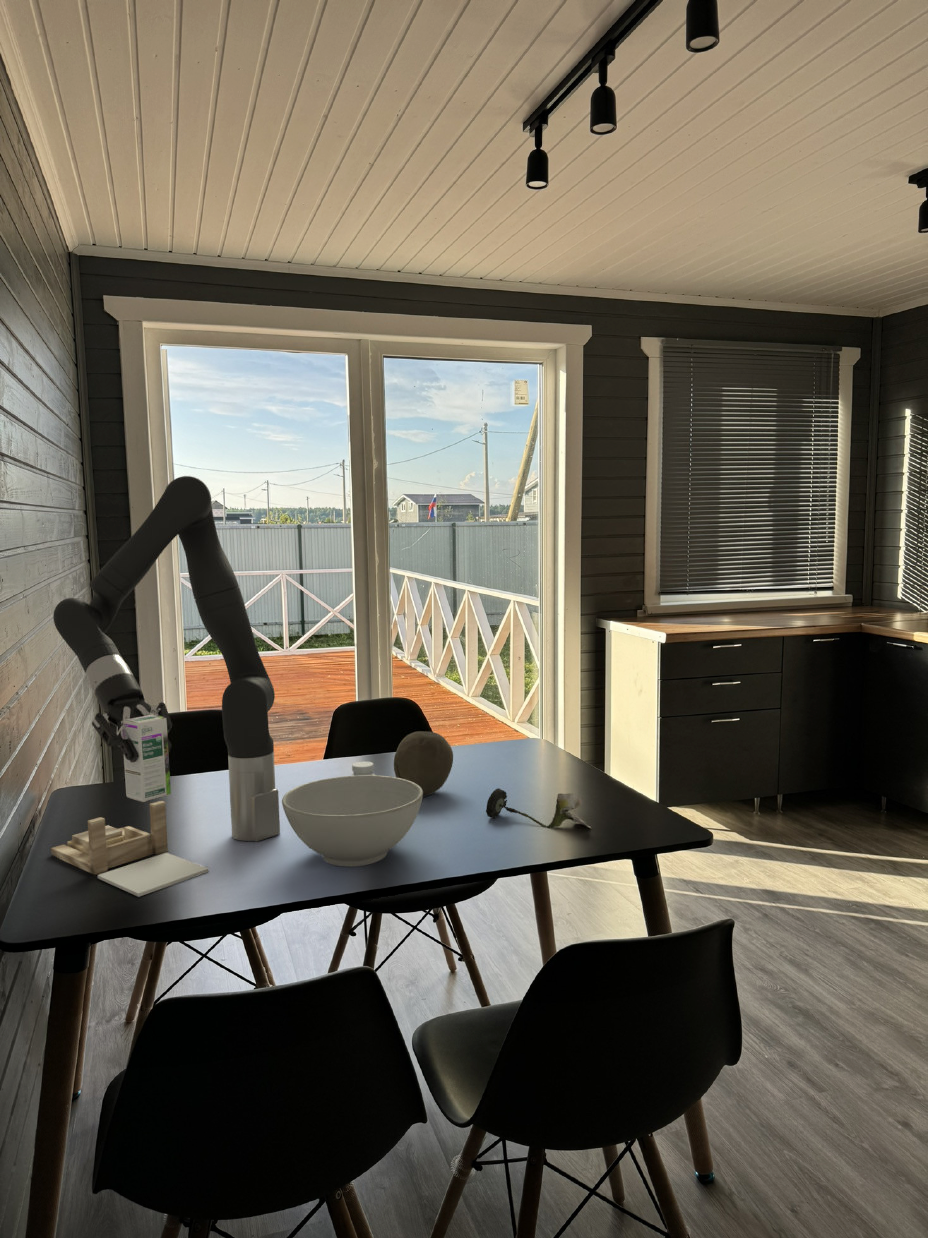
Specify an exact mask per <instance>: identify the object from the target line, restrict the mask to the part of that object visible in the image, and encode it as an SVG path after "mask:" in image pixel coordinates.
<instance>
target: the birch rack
mask: <svg viewBox="0 0 928 1238" xmlns="http://www.w3.org/2000/svg"><path fill="white" fill-rule="evenodd" d="M166 808H167V807H166V801H163V800H158V801H154V802H151V803H149V816H150V818H149V819H150V833H148V832H147V831H143V830H140V829H138V828H135V827H133V826H129V825H128V826H124V827H120V828H118V829H119V830H122V836H124V840H125V841H122V842H119V843H115V844H112V845H109V846H106V833H105V826H106V819H105V817H101V816H100V817H96V818H93V819H89V820H87V831H88V835H89V838H86V839H83V852H80V851H78V850H76V849H73V848H71V847H69V846H68V845H67V844H61V845H57V846H54V847H51V848H50V851H51V855H52V854H53V855H54V856H56V857H57V859H58V858H59V859H58V860H61V861H63V862H65V863H67V864H70V865H72V866H74V867H77V868H79V869H81V870H82V871H85V872H88V873H90V874H92V875H94V876H96V875H99V874H102V873H106V872H109V869H110V868H114V867H117V866H121V865H123V864H126V863H130V862H132V861H136V860H139V859H142V858H144V857H148V856H152V855H154V856H158V855H161V854H164V853H168V852H169V848H168V847H169V846H168V845H169V844H168V830H167V828H168V827H167V812H166V811H167V810H166ZM54 856H53V857H54ZM56 857H55V858H56Z"/></svg>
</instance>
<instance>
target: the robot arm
mask: <svg viewBox="0 0 928 1238" xmlns="http://www.w3.org/2000/svg"><path fill="white" fill-rule="evenodd" d="M212 501H213V500H212V496H211V491H210V489H209V487H208V486H207V484H206V483H205V482H204V481H203V480H201V479H199V478H197V477H195V476H191V475H182V476H178V477H177V478H175V479H173V480H172V481H170V482H169V483H168V484H167V486H166V487H165V490H164V492H163V494H162V495H161V497H160V498H159V500H158V501H157V503H156V505H154V507H153V509H152V510H151V512H150V514H149V515H148V516H147V518H146V519H145V520H144V522H142V524H141V525H140V526H139V527H138V529H137V530H136V531H135V532H134V534H132V536H131V537H130V538H129V539H128V540H127V541H126V542H125V543H124V544H123V545H122V546H121V547H120V548H119V549H118V550H117V551H116V552H115V553H114V555H113V556H112V557H111V558H110V559H109V560H108V561H107V562H106V564H105V565H104V566H103V567H102V568H101V569H100V570H99V571H98V572H97V573H96V574H95V576H94V577H92V580H91V581H90V583H89V584H90V589H91V590H92V591H93V593H94V595H93V597H92V599H91V601H90V603H87V602H86V601H84V600H83V599H79V598H77V597H76V598H75V597H68V598H65V599H63V600H61V601H60V602H58V604H57V605H56V606H55V607H54V611H53V614H52V615H53V624H54V626H55V629H56V630H57V632H58V633H59V635H60V636H61V638H62V639H63V640H64V641H65V643H66V645H68V647H69V649H71V650H72V652H73V653H74V655H75V656H76V657H77V658H78V661H79V663H80V665H81V667H82V669H83V671H84V673H85V675H86V677H87V681H88V685H90V688H91V690H92V692H93V693H94V695H95V698H96V700H97V701H98V704H99V705H100V708H101V709H102V711H103V714H102V713H101V712H97V713H96V714H95V716H94V718H93V720H92V722H91V726H92V727H93V728H94V729H95V731H96V732H97V734H98V735H99V736H100V738H101V739H102V740H103V742H104V743H105V744H106V746H108V747H113V746H117V747H118V748H120V749H121V752H122V754H123V756H124V755H125V757H126V759H127V760H130V762H131V763H132V762H136V760H137V758H138V752H137V751H136V749H135V747H134V745H133V743H132V741H131V739H129V740H128V736H129V735H128V733H127V731H126V726H125V724H124V722H122V723H121V721H123V720H127V719H132V718H137V717H143V716H148V715H158V716H162V717H165V718H166V720H167V735H168V734H169V732H170V731H171V729H172V728H173V722H172V721H171V717H170V713H169V711H168V709H167V705H166V703H165V702H163V701H162V702H159V703H158V705H151V704H150V703H148V701H146V699H145V697H144V693H143V691H142V689H141V686H140V685H139V683H138V681H137V679H136V678H135V676H134V674H133V672H132V670H131V669H130V667H129V665H128V663H126V662H125V660H124V658H123V657H122V654H121V653H120V651H119V649H118V647H117V646H116V643H114V641H113V640H112V639H111V638H110V637H109V636H108V635H107V634H106V632H107V631H108V630H109V628H110V627H111V625H112V623H113V621H114V619H115V617H116V615H117V613H118V612H119V610H120V608H121V605H122V603H123V601H124V600H125V599H127V597H128V595H130V593H131V592H132V591H133V590H134V589H135V588H136V587H137V586H138V585H139V584H140V583H141V581H142V580H143V579H144V578H145V576H146V575H147V573H148V572H149V571H150V570H151V568H152V567H153V565H154V564H155V563H156V561H157V560H158V558H159V557H160V555H162V553H163V551H164V550H165V549H166V548H167V547H168V546H169V545H170V543H171V542H172V541H173V540H174V539H175V538H177V536H178V537H179V540H180V543H181V545H182V547H183V551H184V553H185V558H186V559H185V560H186V565H187V572H188V576H189V577H188V578H189V582H190V586H191V591H192V596H193V598H194V602H195V606H196V608H197V611H198V614H199V617H200V620H201V622H202V625H203V627H204V628H205V630H206V632H207V633H208V635H209V637H210V638H211V639H212V641H213V642H214V644H215V646H216V647H217V648H218V650H219V652H220V653H221V655H222V658H223V660H224V663H225V666H226V668H227V672H228V674H227V675H228V677H229V680H230V681H229V682H230V683H229V684H228V685H227V686H226V687H225V689H224V692H223V694H222V697H221V715H222V729H223V738H224V742H225V744H226V746H227V747H226V748H227V754H228V755H227V757H228V758H227V759H228V782H229V785H228V786H229V799H230V800H229V802H230V819H231V820H230V821H231V837H232V838H233V839H235V840H237V841H242V842H243V841H245V842H247V841H248V842H250V841H251V842H260V841H264V840H265V839H268V838H271V837H274V836H275V837H276V836H277V835H280V834H281V825H280V824H281V822H280V821H281V820H280V804H279V803H280V801H279V799H280V798H279V796H280V795H279V790H278V789H277V788H276V774H275V773H276V772H275V770H276V769H275V749H274V747H275V746H274V739H273V738H272V736H271V734H270V727H269V714H268V713H269V711H270V710H271V709H272V707H273V705H274V703H275V695H276V694H275V693H276V692H275V690H274V686H273V683H272V681H271V678H270V675H269V673H268V672H267V670H266V667H265V665H264V662H263V660H262V658H261V656H260V653H259V650H258V648H257V645H256V641H255V637H254V634H253V629H252V625H251V622H250V618H249V616H248V613H247V610H246V609H247V608H246V605H245V601H244V598H243V597H244V596H243V594H242V592H241V589H240V585H239V582H238V579H237V577H236V574H235V572H234V570H233V568H232V566H231V563H230V560H229V559H228V557H227V555H226V554H225V551H224V549H223V547H222V545H221V542H220V539H219V535H218V532H217V528H216V526H217V525H216V522H215V518H214V513H213V512H214V511H213V506H212V505H213V503H212ZM109 722H110V723H111V724H112V725H114V726H116V731H115V729H114V728H113V727H112V725H111V724H110V723H109ZM172 748H173V747H172V742H171V741H170V739H169V738H168V753H170V752H171V749H172Z"/></svg>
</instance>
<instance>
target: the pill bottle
mask: <svg viewBox="0 0 928 1238" xmlns="http://www.w3.org/2000/svg"><path fill="white" fill-rule="evenodd" d="M351 769H352V772H353V774H350V776H358V775H375V776H377V775H376V774H375V773H373V771H374V770H375V769H374V763H373V762H371V761H357V762H353V763H352V766H351Z"/></svg>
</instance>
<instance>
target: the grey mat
mask: <svg viewBox="0 0 928 1238" xmlns="http://www.w3.org/2000/svg"><path fill="white" fill-rule="evenodd" d="M209 871H210V870H209V868H208V867H205V866H203V865H200V864H197V863H195V862H193V861H190V860H187V859H184V858H181V857H179V856H177V855H174V854H171V853H169V852H164V853H161V854H158V855H154V856H152V857H149V858H145V859H143V860H140V861H137V862H133V863H130V864H128V865H125V866H122V867H118V868H114V869H111V870H108V871H106V872H102V873H99V874H97V879H99V880H101V881H103V882H105V883H107V884H110V885H111V886H114V887H116V888H119V889H120V890H123V891H125V892H127V893H129V894H132V895H134V896H136V897H138V898H140V897H142V896H144V895H148V894H150V893H153V892H157V891H159V890H161V889H165V888H167V887H170V886H173V885H176V884H179V883H182V882H184V881H186V880H190V879H192V878H195V877H198V876H200V875H203V874H205V873H208V872H209Z"/></svg>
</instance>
